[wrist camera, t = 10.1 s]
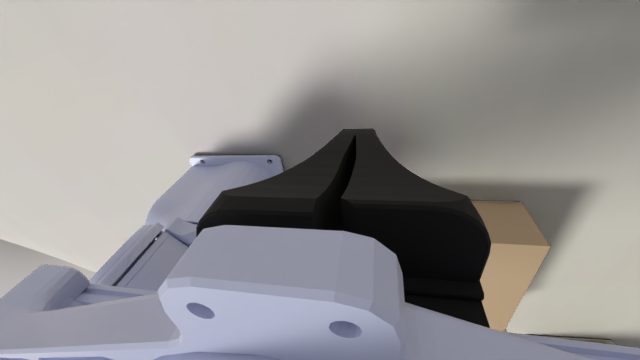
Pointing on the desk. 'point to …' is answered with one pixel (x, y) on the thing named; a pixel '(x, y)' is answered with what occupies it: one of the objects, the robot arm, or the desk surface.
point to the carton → (509, 258)
